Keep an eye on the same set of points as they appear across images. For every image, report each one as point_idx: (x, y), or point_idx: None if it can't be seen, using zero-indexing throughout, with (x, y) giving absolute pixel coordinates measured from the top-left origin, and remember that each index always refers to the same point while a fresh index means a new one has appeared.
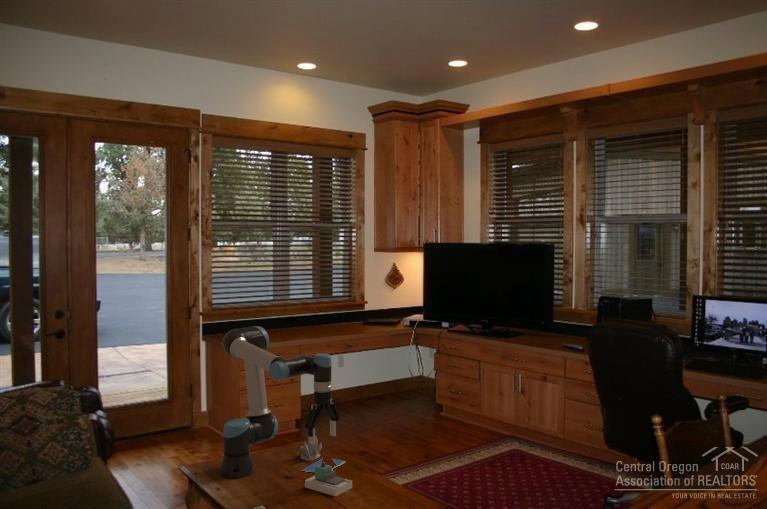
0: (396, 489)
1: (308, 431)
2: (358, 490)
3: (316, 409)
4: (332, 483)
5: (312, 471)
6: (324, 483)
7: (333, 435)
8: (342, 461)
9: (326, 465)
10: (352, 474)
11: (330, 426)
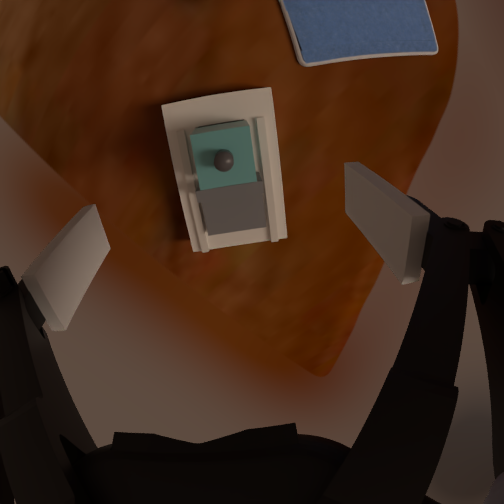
0: (348, 311)
1: (22, 280)
2: (280, 253)
3: (46, 486)
4: (206, 224)
5: (291, 12)
6: (189, 195)
7: (347, 200)
8: (430, 46)
9: (243, 159)
10: (374, 142)
11: (378, 196)
